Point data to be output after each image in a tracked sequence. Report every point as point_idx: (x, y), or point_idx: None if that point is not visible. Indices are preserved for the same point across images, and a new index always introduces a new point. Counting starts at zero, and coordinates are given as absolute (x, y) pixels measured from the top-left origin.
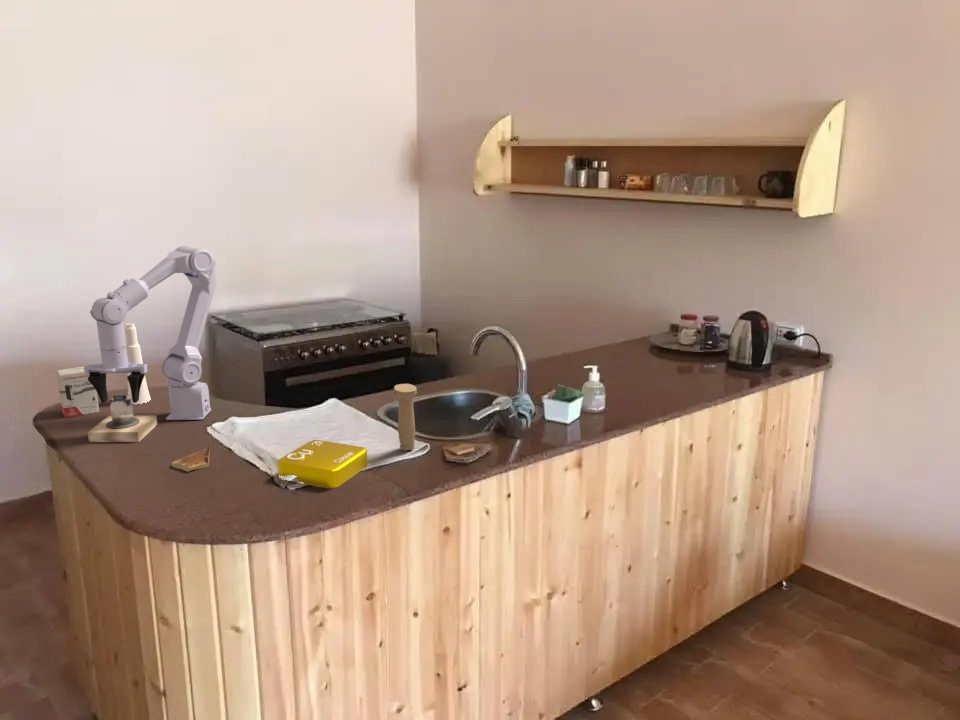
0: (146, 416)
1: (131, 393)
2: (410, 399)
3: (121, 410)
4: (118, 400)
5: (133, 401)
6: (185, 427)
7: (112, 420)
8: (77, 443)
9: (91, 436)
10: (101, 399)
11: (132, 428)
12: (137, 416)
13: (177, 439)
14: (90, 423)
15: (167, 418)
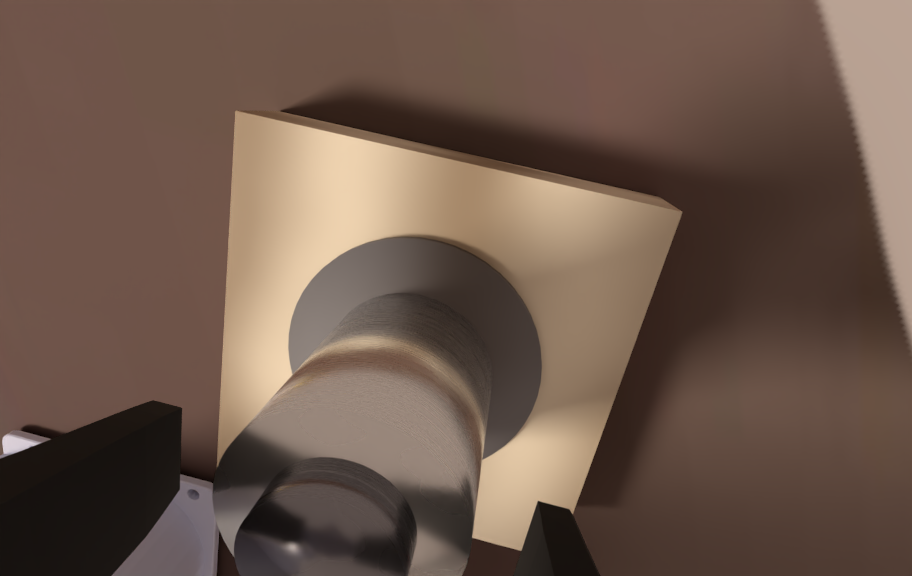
0: None
1: (63, 468)
2: None
3: (345, 354)
4: (336, 460)
5: (161, 410)
6: (65, 332)
7: (477, 353)
8: (749, 191)
9: (642, 197)
10: (568, 537)
11: (305, 217)
12: None
13: (26, 101)
14: (687, 571)
15: (203, 487)
